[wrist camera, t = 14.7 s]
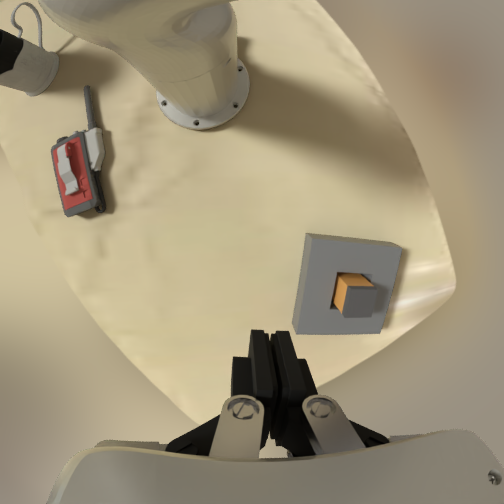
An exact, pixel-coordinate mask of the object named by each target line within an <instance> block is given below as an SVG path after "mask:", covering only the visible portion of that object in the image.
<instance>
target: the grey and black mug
mask: <svg viewBox="0 0 504 504" xmlns="http://www.w3.org/2000/svg"><path fill="white" fill-rule="evenodd" d="M24 4H25V5H27V6H29V7H30V8H31V9H32V10H33V12H34V13H35V15H36V18H37V21H38V29H39V47H38V46H36V45H34V44H32V43H30V42H29V41H27V40H25V39H23V38H20V37H21V35H22V32H23V29H22V27H21V26H19V25H18V24H17V23H16V22H15V18H14V17H15V12H16V10H17V9H18V8H19V7H20V6H21V5H24ZM11 23H12V24H13V26H14V27H16V28H17V29H19V35H18V37H16V36H14V35H12V34H10V33H8V32H6V31H4V30H1V29H0V85H3V86H6V87H10V88H13V89H17V90H20V91H24V92H25V93H26V94H27V95H29V96H36V95H39V94H40V93H42V92H43V91H44V90H45V89H46V88H47V87H48V86H49V85H50V84H51V82H52V81H53V79H54V77H55V75H56V73H57V70H58V67H59V57H58V55H57V54H56V53H55V52H47V51H46V50H45V49H44V48H43V46H42V21H41V18H40V15H39V12H38V11H37V9H36V8H35V7H34V6H33V5H32V4H30V3H28V2H25V3H21V4H19V5H18V6H17V7H16V8H15V9H14V11H13V12H12V15H11Z"/></svg>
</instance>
